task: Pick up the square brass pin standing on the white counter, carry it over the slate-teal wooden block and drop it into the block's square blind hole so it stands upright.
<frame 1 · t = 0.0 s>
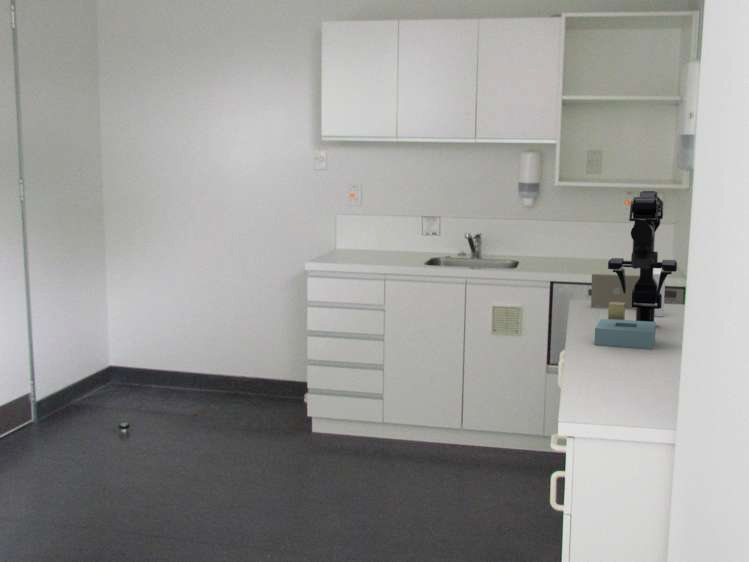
hand: (641, 294, 228), 15 cm above the countertop, fingers open, 9 cm apart
laptop: (616, 307, 294), on the countertop
brass pin: (616, 331, 248), on the countertop
hole block: (625, 341, 233), on the countertop
milk carton: (651, 315, 276), on the countertop
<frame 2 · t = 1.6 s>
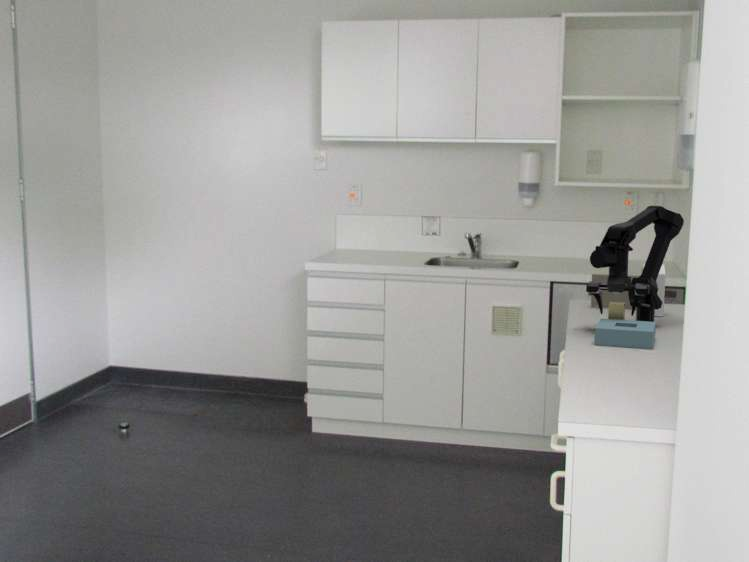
hand: (616, 314, 248), 5 cm above the countertop, fingers open, 9 cm apart
nothing on the countertop moved.
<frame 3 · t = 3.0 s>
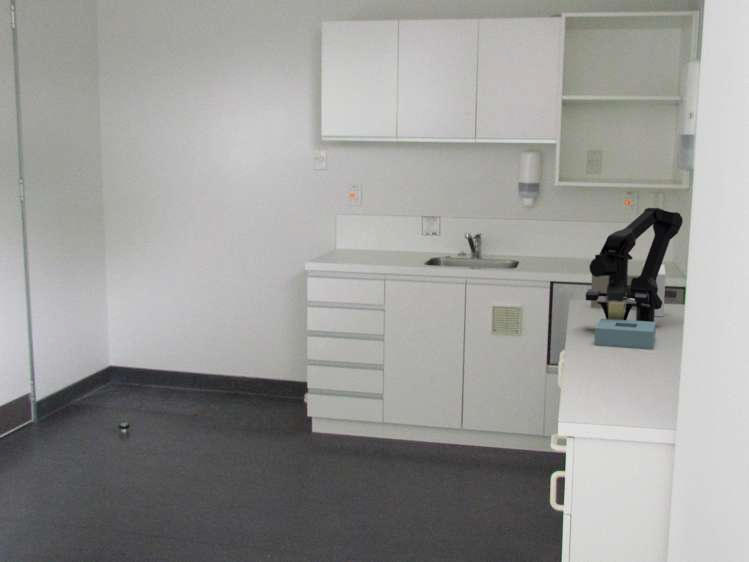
hand: (616, 323, 248), 3 cm above the countertop, fingers closed on brass pin, 5 cm apart
brass pin: (615, 331, 248), on the countertop, touching gripper
everything else where it was.
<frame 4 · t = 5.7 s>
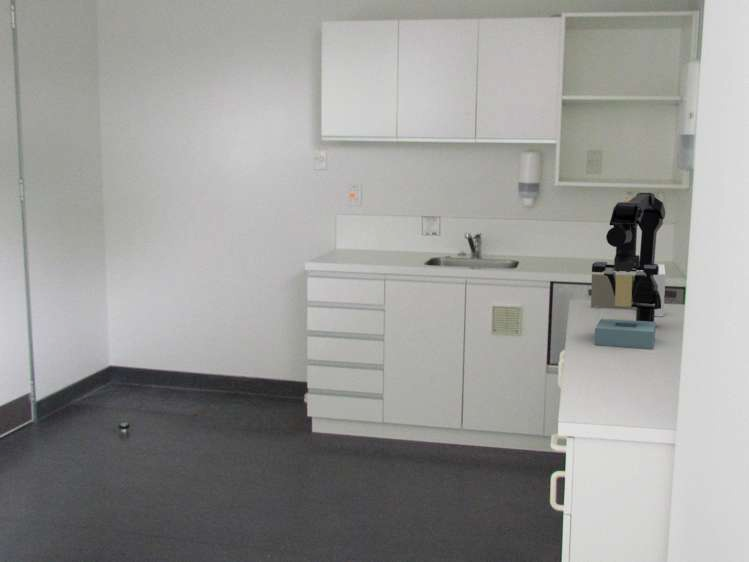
hand: (623, 296, 235), 13 cm above the countertop, fingers closed on brass pin, 5 cm apart
brass pin: (623, 305, 235), point 10 cm above the countertop, touching gripper
everything else where it was.
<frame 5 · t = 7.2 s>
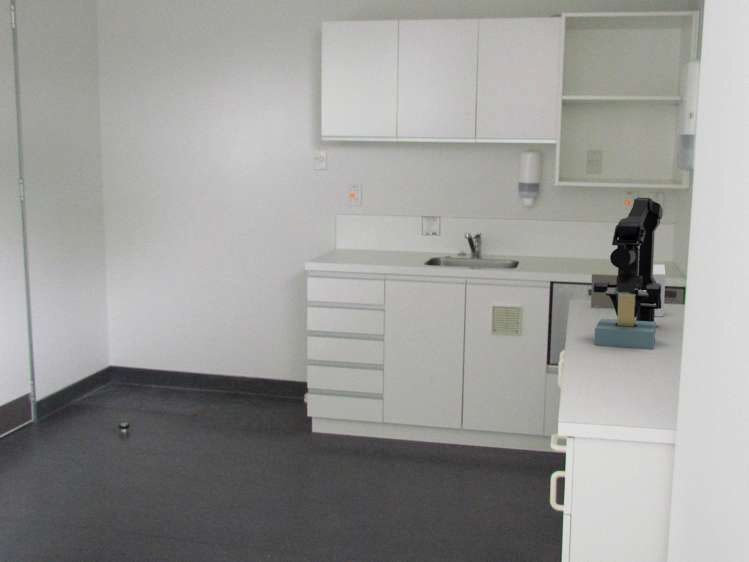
hand: (626, 316, 232), 7 cm above the countertop, fingers closed on brass pin, 5 cm apart
brass pin: (626, 325, 232), point 5 cm above the countertop, touching gripper
everything else where it was.
when the fingers open (6 cm above the countertop, at t = 8.4 s): brass pin drops 2 cm, resting on hole block.
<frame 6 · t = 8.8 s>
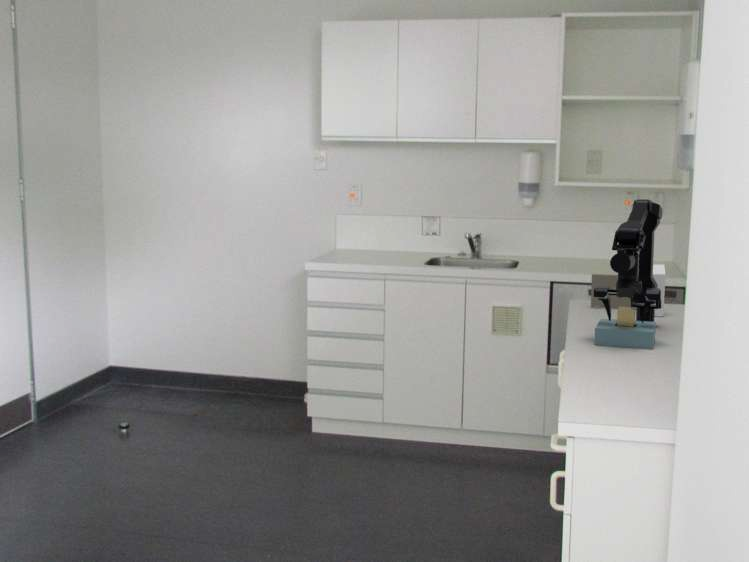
hand: (626, 321, 232), 6 cm above the countertop, fingers open, 9 cm apart
brass pin: (625, 338, 233), point 1 cm above the countertop, touching hole block
everything else where it was.
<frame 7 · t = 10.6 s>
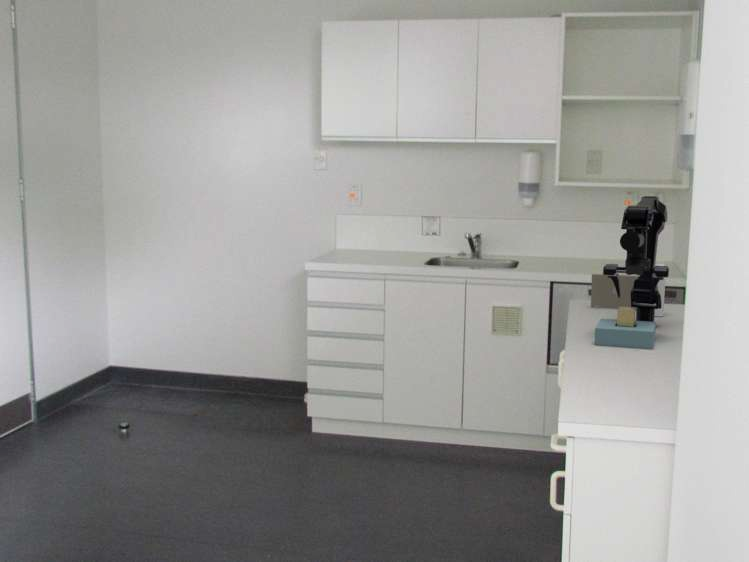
hand: (634, 298, 239), 12 cm above the countertop, fingers open, 9 cm apart
nothing on the countertop moved.
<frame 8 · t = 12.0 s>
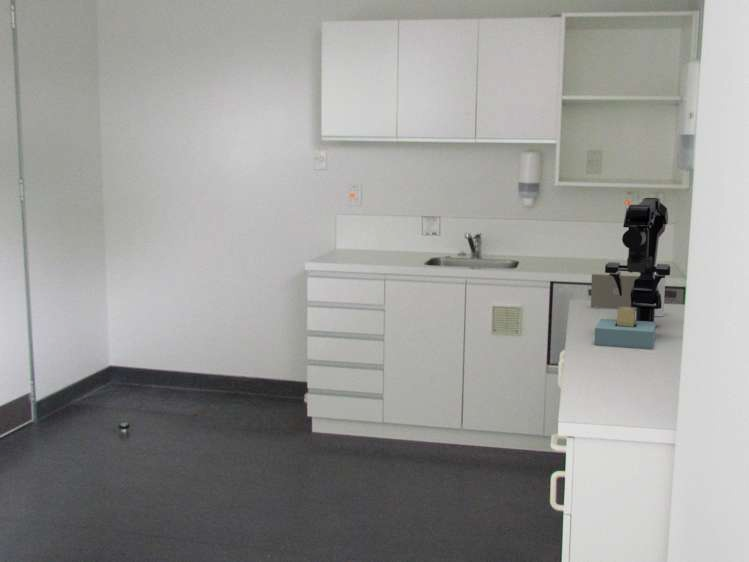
hand: (636, 296, 241), 12 cm above the countertop, fingers open, 9 cm apart
nothing on the countertop moved.
at the end: brass pin 0.0 cm off-centre on the hole block, point 1.0 cm above the hole block's base; brass pin tilted 0°; the gripper is holding nothing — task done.
